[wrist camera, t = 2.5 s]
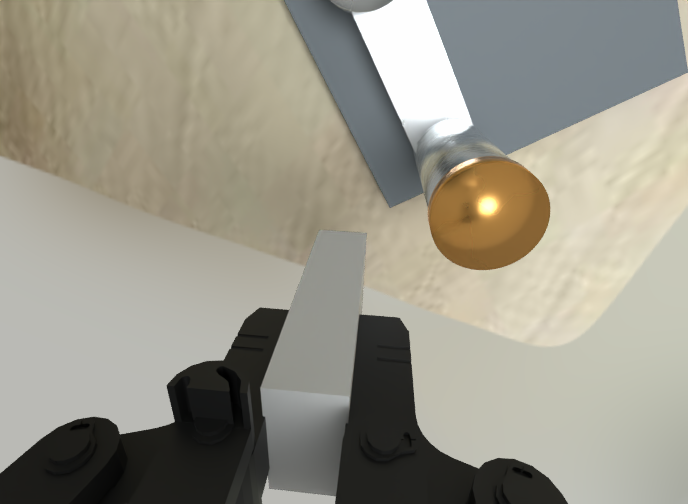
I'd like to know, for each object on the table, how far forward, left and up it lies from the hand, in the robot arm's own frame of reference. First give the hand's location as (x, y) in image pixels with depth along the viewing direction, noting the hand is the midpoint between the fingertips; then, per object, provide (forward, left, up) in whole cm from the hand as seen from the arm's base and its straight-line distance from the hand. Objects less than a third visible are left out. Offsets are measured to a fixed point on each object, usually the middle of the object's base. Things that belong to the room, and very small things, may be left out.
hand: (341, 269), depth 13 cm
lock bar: (-4, +5, -10) cm, 12 cm away
